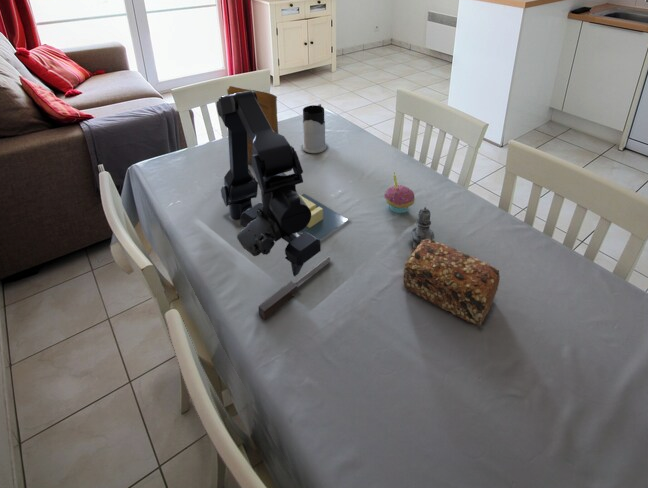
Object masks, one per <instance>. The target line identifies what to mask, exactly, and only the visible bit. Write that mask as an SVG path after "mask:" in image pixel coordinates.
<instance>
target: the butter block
mask: <svg viewBox="0 0 648 488" xmlns="http://www.w3.org/2000/svg"><path fill="white" fill-rule="evenodd" d="M301 195H302V194H299V196H300V197H301V198H302V200H303V201H304V202H305V203H306V205H307V206H308V207H309V209H310V211H313V210H314V209H316V204H314V203H312V202H311V201H309V200H307V199H306V198H304V197H302V196H301Z"/></svg>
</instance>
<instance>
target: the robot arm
mask: <svg viewBox="0 0 648 488" xmlns="http://www.w3.org/2000/svg"><path fill="white" fill-rule="evenodd" d="M255 91H256V90H255ZM255 91H245V92H239V93H234V94H231V95H228V94H227V95H225V94H224V95H221V96H220V97H218V101H216V111H217V114H218V116H219V118H221V120H222V122H223V125H224V126H225V128H227V137H228V138H227V139H228V153H229V170H228V171H227V173H226V174H225V176H224V177H223V180H224V181H223V182H224V183H223V185H222V187H221V189H220V193H221V198H222V201H223V203H224V205H225V207H229V214H230V217H231V219H233V220H236V221H240V225H241V226H242V227H243V228H242V229H241V230H240V231H239V233H238V234H237V235H236V239H237V241H238V242H239V243H240V245H241V247H242V248H243V249H244V250H245V251H246V252H248V253H250V254H251V255H252V256H253V257H258V256H259V255H261V254H262V255H266V256H267V255H268V254H270V253H271V250H272V249H273V248H274V246H275V243H277V242H278V241H280V240H281V239H282V240H283V241H285V242H286V243H287V244H286V247H285V248H284V254H285V256H284V259H285V260H287V261H288V262H289V263H290V266H291V272H292V275H293V277H297V276H298V275H299V274H300V273H301V270H302V268H303V266H304V264H305V263H306V262H308V261H309V260H311V259H312V258H313V257H315V256H316V255H317V254H319V253H320V252H321V251H322V246H321V240H319V239H317V238H316V237H314V236H313V235H311V234H309V233H307V232H304V233H302V232H301V230H303V229H304V228H305V227H306V226H307V225H308V223H309V222H310V219H311V211H310V209H309V207H308V206H307V205H306V203H305V202H304V201H303V200H302V198H301V197H300V196H299V195H300V194H299V193H298V191H297V186H296V185H300V184H303V183H304V179H303V173H304V169H303V168H302V164H301V162H300V158H299V155H298V153H297V151H296V150H295V148H294V146H292V145H291V144H290V142H289V141H288V140H287V138H286V137H285V136H284V135H282V134H280V133H279V132H278V133H275V132H274V131H273V129H272V127H271V126H270V124H269V122H268V120H267V118H266V116H265V115H264V113H263V111H262V109H261V107H260V105H259V104H258V99H257V95H256V93H255ZM247 133H248V134H247ZM248 136H249V138H250V140H251V142H252V144H253V155H252V158H251V159H252V165H251V166H252V169H253V172H254V175H255V177H254V176H253V173H252V171H251V170H250V168H249V163H248ZM291 171H293V173H291V174H286V173H287V172H291ZM258 189H260V193H261V194H260V195H261V202H259V203H257V204H255V205H252V199H254V198H255V199H256V198H258ZM300 232H301V234H299V233H300Z"/></svg>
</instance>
